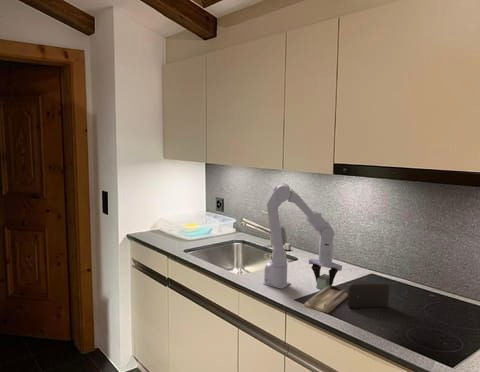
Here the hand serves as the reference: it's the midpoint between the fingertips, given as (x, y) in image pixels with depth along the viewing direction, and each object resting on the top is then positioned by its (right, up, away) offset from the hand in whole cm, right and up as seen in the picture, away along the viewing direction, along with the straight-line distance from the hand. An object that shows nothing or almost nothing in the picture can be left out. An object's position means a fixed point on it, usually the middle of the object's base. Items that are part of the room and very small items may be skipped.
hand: (324, 283), depth 173 cm
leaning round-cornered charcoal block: (+13, -5, -20) cm, 24 cm away
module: (0, -2, 0) cm, 2 cm away
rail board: (-2, -4, -14) cm, 15 cm away
